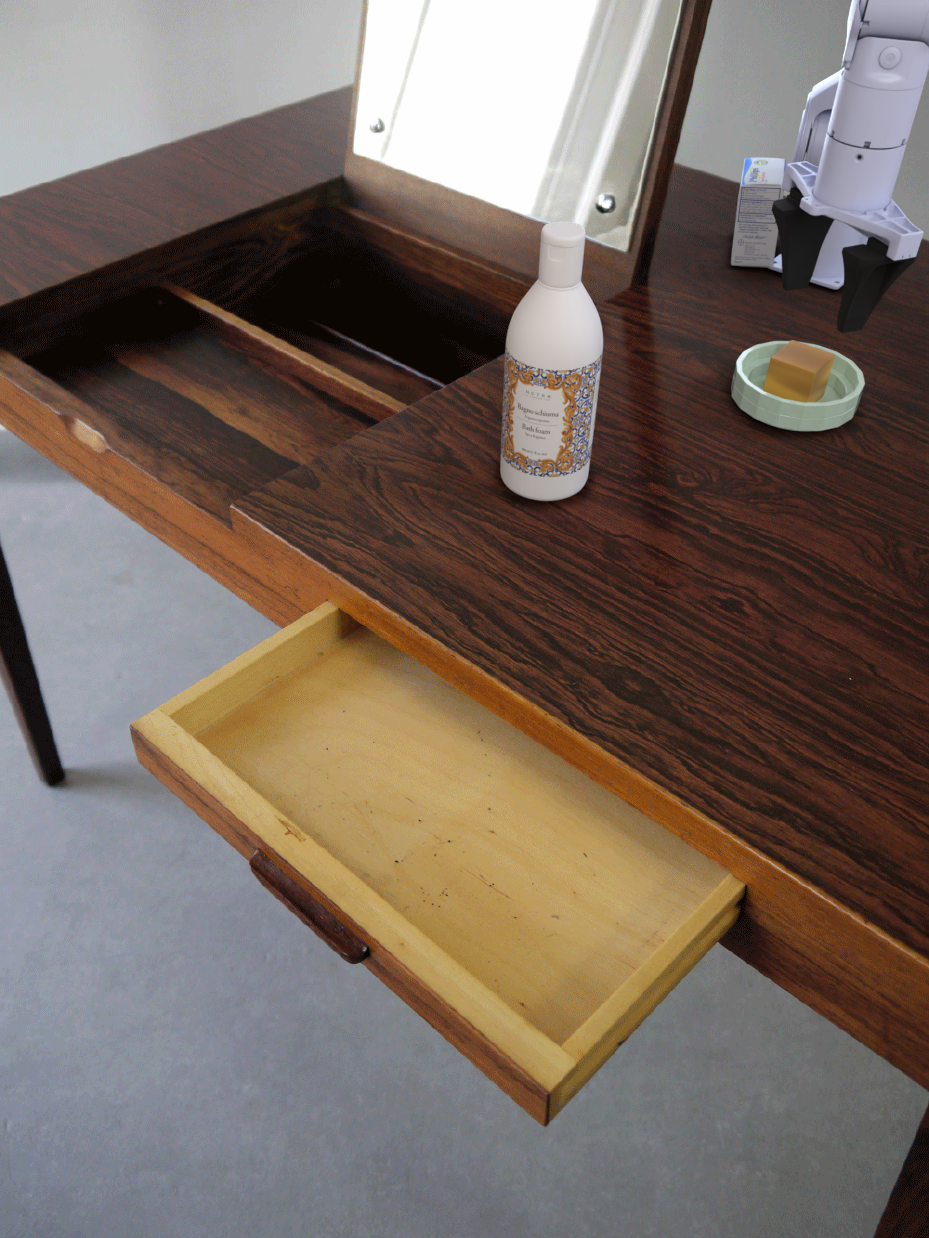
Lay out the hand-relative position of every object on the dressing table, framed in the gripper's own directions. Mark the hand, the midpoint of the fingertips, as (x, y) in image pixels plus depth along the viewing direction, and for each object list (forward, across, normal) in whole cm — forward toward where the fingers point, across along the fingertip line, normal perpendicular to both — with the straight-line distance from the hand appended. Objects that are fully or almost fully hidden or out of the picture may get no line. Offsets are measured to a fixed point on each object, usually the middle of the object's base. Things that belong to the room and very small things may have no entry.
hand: (821, 308), depth 87 cm
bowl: (+8, +1, -1) cm, 8 cm away
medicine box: (+8, -26, +12) cm, 30 cm away
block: (+8, 0, -1) cm, 8 cm away
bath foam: (+9, +3, -26) cm, 27 cm away
